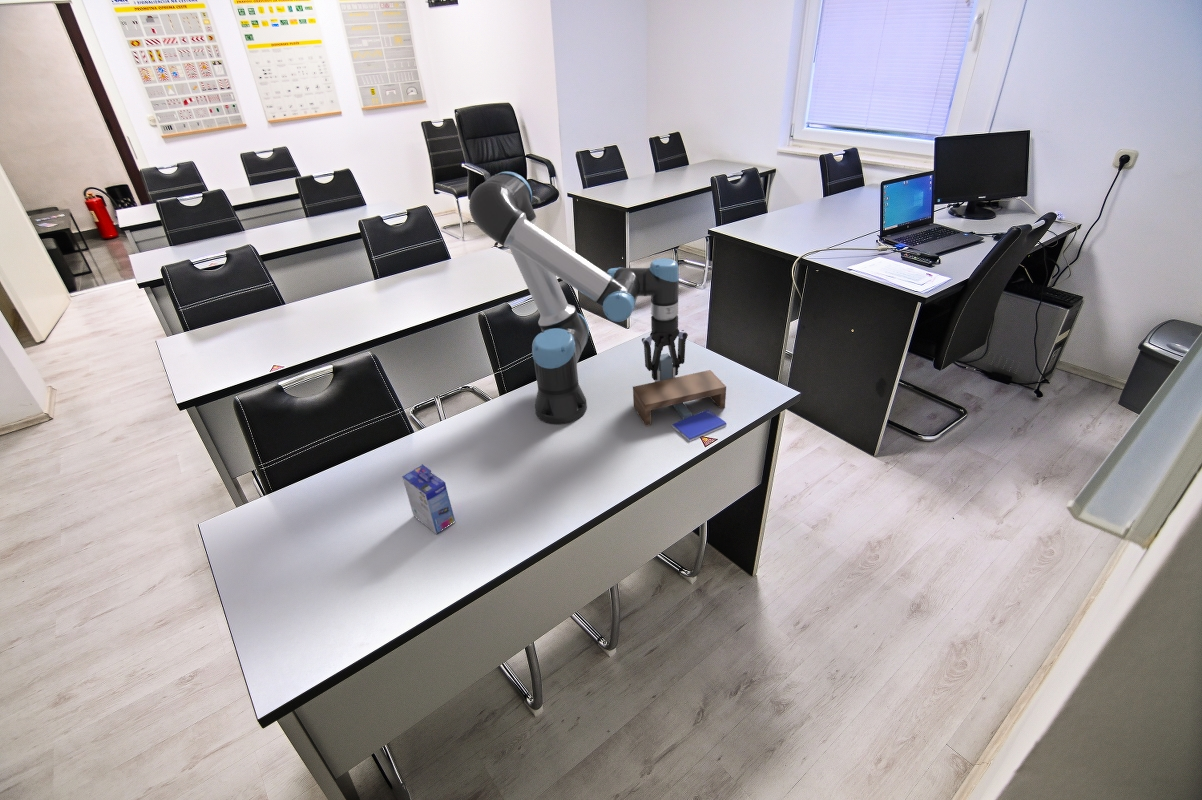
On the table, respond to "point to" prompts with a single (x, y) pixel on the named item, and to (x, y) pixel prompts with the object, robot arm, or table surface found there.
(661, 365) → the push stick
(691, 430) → the blue flat slab
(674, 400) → the bench
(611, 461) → the table surface
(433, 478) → the ink cartridge box
